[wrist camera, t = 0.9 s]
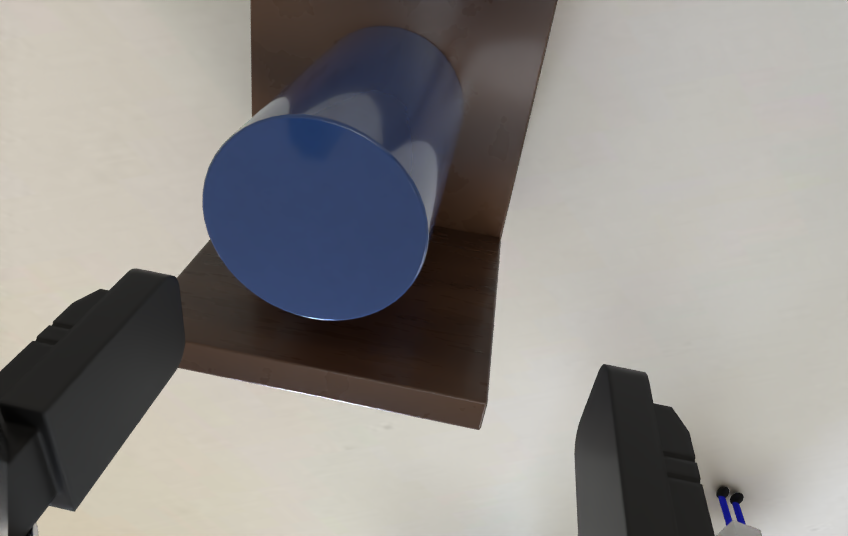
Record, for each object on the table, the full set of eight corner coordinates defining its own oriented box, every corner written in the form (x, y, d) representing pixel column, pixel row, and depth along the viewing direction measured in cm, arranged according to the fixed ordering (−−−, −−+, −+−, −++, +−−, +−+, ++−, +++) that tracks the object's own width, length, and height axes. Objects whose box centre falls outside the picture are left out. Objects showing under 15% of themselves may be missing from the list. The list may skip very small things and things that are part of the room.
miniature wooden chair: (295, -99, 26) (70, -67, 13) (561, -55, 26) (589, 24, 13) (289, 167, 33) (134, 359, 20) (500, 207, 32) (479, 431, 19)
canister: (315, 12, 23) (194, 93, 15) (477, 40, 23) (445, 140, 15) (309, 162, 27) (206, 298, 18) (450, 189, 26) (412, 340, 18)
